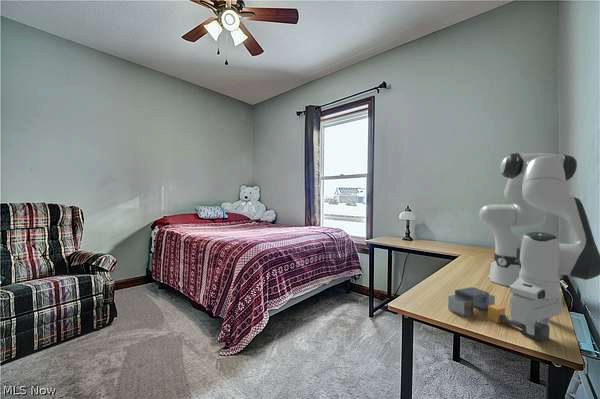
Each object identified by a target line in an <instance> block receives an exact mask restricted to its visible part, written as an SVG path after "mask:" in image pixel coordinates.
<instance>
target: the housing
mask: <svg viewBox="0 0 600 399" xmlns="http://www.w3.org/2000/svg"><path fill="white" fill-rule="evenodd" d="M495 300H496V298H495V295H493V294H491V293H490V292H488V291H486V290H485V291H484V290H483V289H479V288H476V287H473V286H470V287H466V288H460V289H455V291H454V294H452V295H448V299H447V307H448V308H447V309H448V310H449V311H450V312H451V311H452V312H453V313H455V314H457V315H459V316H461V317H463V318H464V317H468V316H472V315H474V307H475V308H477V309H479V310H482V311H485V312H488V306H490V305H494V304H495Z"/></svg>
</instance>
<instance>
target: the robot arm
mask: <svg viewBox="0 0 600 399" xmlns="http://www.w3.org/2000/svg"><path fill="white" fill-rule="evenodd" d="M499 168H500V173H501V175H502V177H503V178H504V177H505V178H508V179H507V182H506V185H505V188H504V191H503V196H504V198H505V199H506V200H507V201H509V203H511V204H488V205H483V206H482V207H481V208H480V209H479V212H478V218H479V219H480V222H481V223H482V224H484V225H485V226H486V227H488V229H489V230H491V233H492V235H493V237H494V243H495V244H494V245H495V247H494V250H495V251H494V253H493V261H492V262H491V265H490V271H489V272H490V273H489V274H488V275H487V278H489V280H490V281H491V282H493V283H495V284H498V285H501V286H504V287H509V292H510V293H512V294H511V296H510V301H509V303H510V306H509V308H510V318H511V319H513V320H515V321H517V322H520V323H522V324H525V325H526V332H527V333H528V334H530V335H535V334H536V331H537V329H535V327H534V325H535V322H536V321H537V322H540V323H543V324H545V325H548V326H549V325H550V321H551V318H552V317H555V316H559V315H562V313H563V309H564V308H563V294H562V292H561V291H560V290H561V277H560V276H559V275H563V276H569V277H572V278H576V279H580V280H585V281H587V280H591V279H594V278H596V277H599V276H600V251H599V250H598V246H597V244H596V242H595V238H594V235H593V232H592V229H591V225H590V222H589V218H588V215H587V213H586V209H585V207H584V205H583V202H582V201H581V200H580V198H578V197H575V196H573V195H572V194H571V193H570V192H569V191H568V190H567V186H566V184H567V181H569V180H570V179H572V178H573V177H574V175H575V174H576V173H577V172H576V171H577V170H578V162H577V159H576V158H575V157H574V156H572V155H567V154H555V153H548V152H547V153H546V152H544V153H543V152H538V153H533V152H532V153H531V152H530V153H529V152H527V153H518V152H516V153H509V154H507V155H506V156H504V158H503V160H502V161H501V163H500V167H499ZM546 213H550V214H553V215H555V216H558V217H561V218H563V219H564V220H566V221H567V222H568V224H569V227H570V231H571V235H572V238H573V242H574V243H564V242H563V243H562V242H560V241H559V238H558V237H557V235H554V234H551V233H548V232H540V231H530V232H527V233H524V234H523V236H522V237H521V236H519V235H517V234H515V233H514V232H512V229H511V228H523V229H524V228H525V229H526V228H527V229H529V228H539V227H542V225H544V224H545V222H546V219H547V214H546ZM519 265H521V269H520V267H519Z"/></svg>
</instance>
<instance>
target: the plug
mask: <svg viewBox="0 0 600 399" xmlns="http://www.w3.org/2000/svg"><path fill="white" fill-rule="evenodd" d="M505 313H506V308H505V307H504V306H500V305H498V304H495V303H494V305H490V306H488V311H487V320H489V321H492V322H494V323H495V324H496V323H497V324H499V323H503V322H505V323H506V324H508V325H511V326H514V327H517V328H518V329H521V335H522V336H525V337H527V338H529V339H531V340H534V341H536V342H539V343H543V342H546V341H549V340H550V325H549V324H548V325H545V324H543V323H540V322H539V321H536V322H535V325H534V327H535V329H537V331H536V334H535V335H530V334H528V333H527V332H526V325H525V324H522V323H520V322H517V321H515V320H513V319H512V317H509V316H506V315H505Z"/></svg>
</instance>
